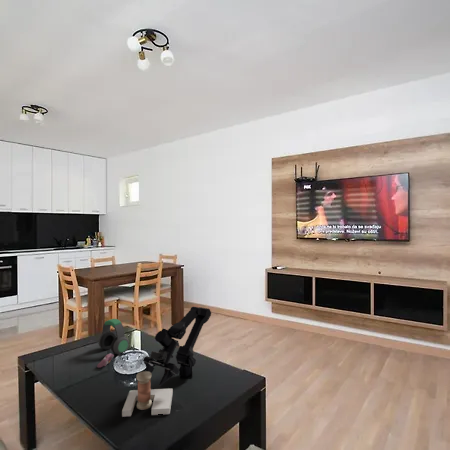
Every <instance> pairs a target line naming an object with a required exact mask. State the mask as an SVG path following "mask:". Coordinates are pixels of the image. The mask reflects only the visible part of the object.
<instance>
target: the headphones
mask: <svg viewBox="0 0 450 450" xmlns="http://www.w3.org/2000/svg"><path fill="white" fill-rule="evenodd" d="M111 327H112V328H113V329H114V331H115V333H114V332H112V331H111ZM101 332H102V333H101V334H100V336H99V337H98V341H97V342H98V346H99V347H100V348H101V349H103V350H104V351H108V350H110V349H111V352H112V354H114V355H121V354H120V353H123V352H124V353H126V352H127V350H128V349H129V346H130V342H129V338H127V337H126V335H125V334H126V332H125V328H124V325H123V323H122V321H120V320H119V319H117V318H110V319H108V320H106V321H104V324H103V326H102V331H101ZM125 351H126V352H125ZM124 353H123V354H124Z"/></svg>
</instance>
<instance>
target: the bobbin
mask: <svg viewBox="0 0 450 450" xmlns="http://www.w3.org/2000/svg"><path fill="white" fill-rule="evenodd" d="M152 373H153V372H152ZM152 373H151V372H149V371H146V370H144V371H140V372H138V373H137V374H136V380H137V390H138V401H136V409H138V410H141V411H143V410H144V411H145V410H148V409H150V408H152V405H153V402H152V401H153V400H150V399H151V389H152V388H151V381H152V380H151V378H152V376H153V375H152Z"/></svg>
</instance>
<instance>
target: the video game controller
mask: <svg viewBox="0 0 450 450" xmlns="http://www.w3.org/2000/svg"><path fill="white" fill-rule="evenodd" d="M114 357H115V354H114V353H108V354H106V355H105V356H104V358H103V359H101V361H99V363H97V364H96V366H97V367H96V368H98V369H100V368H103V367H106V366H107V365H108V364H110V363H111V361H112V359H113V358H114Z"/></svg>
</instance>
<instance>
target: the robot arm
mask: <svg viewBox="0 0 450 450" xmlns="http://www.w3.org/2000/svg"><path fill="white" fill-rule="evenodd" d="M211 316H212V311H211V309H210V308H206V307H202V306H201V307H198V306H191V307H190V309H189V311H188V312H187V313H186V314H185V315H184V316H183V318H182V319H181V320H180V321H178V322H176V323H174V324H172V325H171V326H170V327H169V328H168V329H166V328H161V330H159V331H158V332H157V333H156V334H155V336H154V339H155V340H154V341H156V342H157V343H158V344H159V345H160V346H161V347H162V349H159V350H158V351H154V350H153V351H150V352H151V353H150V356H148V355H146V356H144V357H143V360H142V362H143V364H144V365H145V371H149V372H151V373H153V372H154V370H155V367H156V366H157V367H160V368H164V373H163V375H162V378H161V379H160V382H159V387H163V385H164V384H165V383H166V382H168V380H169V379H171V378H172V377H173V376H176V375H179V377H180V378H179V379H192V378H193V375H194V373H193V367H195V365H196V363H197V362H196V361H197V360H196V358H195V357H194V347H195V345H196V342H197V340H198V338H199V336H200V334H201V331H202V328H203V326H204V324H206V323H207V322H208V321H209V320H210V318H211ZM194 320H195V321H194ZM193 322H194V323H193ZM192 323H193V324H192ZM191 324H192V325H193V326H192V327H191V330H190V331H189V334H188V336H187V339H186V340H185V343H184V344H183V345H180V343H179V340H182V339H183V338H184V336H185V334H186V333H187V332H186V331H187V329H188V327H189V326H190V325H191ZM177 347H178V349H177V351H176V355H175V360H176V363H177V364H178V365H179V367H178V365H176V364H175V363H172V362H170V361H171V359H173V358H174V356H173V354H174V352H175V349H176V348H177Z"/></svg>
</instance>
